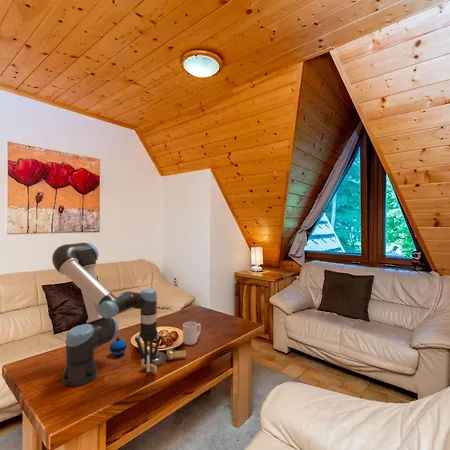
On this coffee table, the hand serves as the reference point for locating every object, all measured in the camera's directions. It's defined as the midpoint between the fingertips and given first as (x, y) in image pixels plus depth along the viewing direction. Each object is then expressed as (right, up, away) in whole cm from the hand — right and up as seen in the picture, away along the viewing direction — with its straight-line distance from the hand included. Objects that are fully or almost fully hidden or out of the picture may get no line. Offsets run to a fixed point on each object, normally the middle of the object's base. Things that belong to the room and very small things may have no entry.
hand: (148, 370), depth 137 cm
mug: (+17, -2, +37) cm, 41 cm away
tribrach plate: (0, -2, +13) cm, 13 cm away
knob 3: (+11, -1, +15) cm, 19 cm away
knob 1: (-8, -1, +21) cm, 23 cm away
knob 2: (0, -1, +3) cm, 3 cm away
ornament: (-22, -2, +20) cm, 30 cm away
